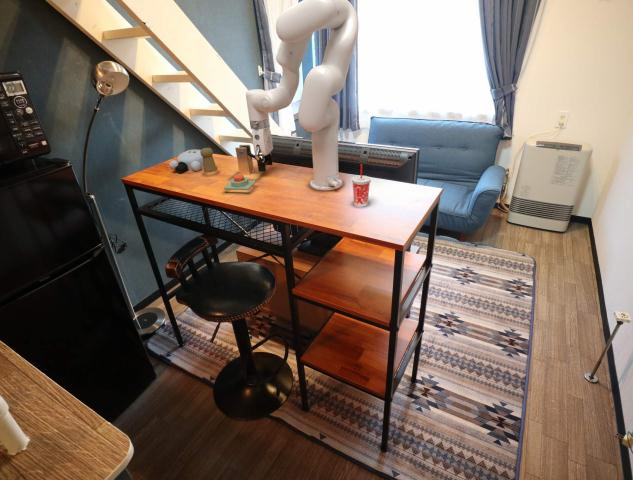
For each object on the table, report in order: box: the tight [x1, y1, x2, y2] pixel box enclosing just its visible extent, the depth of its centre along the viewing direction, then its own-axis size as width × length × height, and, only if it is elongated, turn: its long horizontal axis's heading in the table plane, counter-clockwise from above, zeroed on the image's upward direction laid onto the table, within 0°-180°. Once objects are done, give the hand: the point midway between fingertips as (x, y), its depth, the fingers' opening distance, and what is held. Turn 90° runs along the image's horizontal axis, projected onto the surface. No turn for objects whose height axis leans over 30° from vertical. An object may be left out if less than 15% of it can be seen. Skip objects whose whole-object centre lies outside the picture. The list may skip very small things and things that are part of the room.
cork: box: [200, 147, 218, 173], centre depth 149 cm, size 6×6×11 cm
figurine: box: [168, 149, 204, 175], centre depth 156 cm, size 17×8×20 cm
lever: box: [242, 146, 269, 164], centre depth 141 cm, size 12×5×2 cm, turn 80°
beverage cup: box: [351, 163, 372, 208], centre depth 112 cm, size 6×6×14 cm
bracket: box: [235, 144, 255, 176], centre depth 142 cm, size 12×9×13 cm
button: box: [233, 174, 245, 182], centre depth 131 cm, size 4×4×2 cm
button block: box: [223, 176, 257, 195], centre depth 132 cm, size 10×8×4 cm
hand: (265, 167), depth 142 cm, fingers open, 7 cm apart
